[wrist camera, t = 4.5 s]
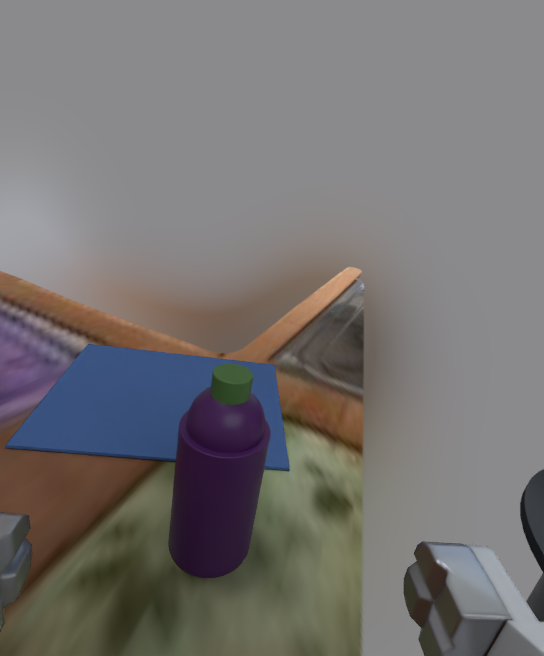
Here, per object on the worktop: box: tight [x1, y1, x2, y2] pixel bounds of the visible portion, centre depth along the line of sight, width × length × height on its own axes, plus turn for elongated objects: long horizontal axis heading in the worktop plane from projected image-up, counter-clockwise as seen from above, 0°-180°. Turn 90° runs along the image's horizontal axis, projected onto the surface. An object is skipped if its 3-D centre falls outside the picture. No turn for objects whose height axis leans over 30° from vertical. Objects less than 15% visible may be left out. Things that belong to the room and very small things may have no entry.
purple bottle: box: [169, 364, 271, 578], centre depth 24 cm, size 5×5×12 cm
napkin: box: [6, 344, 289, 471], centre depth 41 cm, size 22×18×1 cm
